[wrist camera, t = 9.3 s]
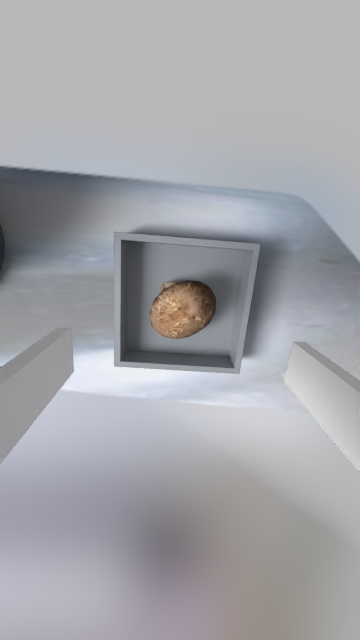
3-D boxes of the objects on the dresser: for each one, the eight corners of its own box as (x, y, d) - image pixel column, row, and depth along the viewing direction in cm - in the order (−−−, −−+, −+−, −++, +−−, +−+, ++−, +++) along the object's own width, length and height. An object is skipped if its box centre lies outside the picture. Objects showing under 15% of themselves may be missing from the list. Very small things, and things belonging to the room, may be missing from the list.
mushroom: (141, 267, 25) (160, 303, 21) (205, 259, 28) (233, 290, 24) (140, 319, 31) (156, 356, 27) (194, 308, 34) (215, 340, 30)
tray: (121, 352, 32) (114, 366, 28) (122, 234, 28) (114, 231, 24) (231, 359, 33) (239, 373, 29) (249, 245, 29) (260, 243, 25)
